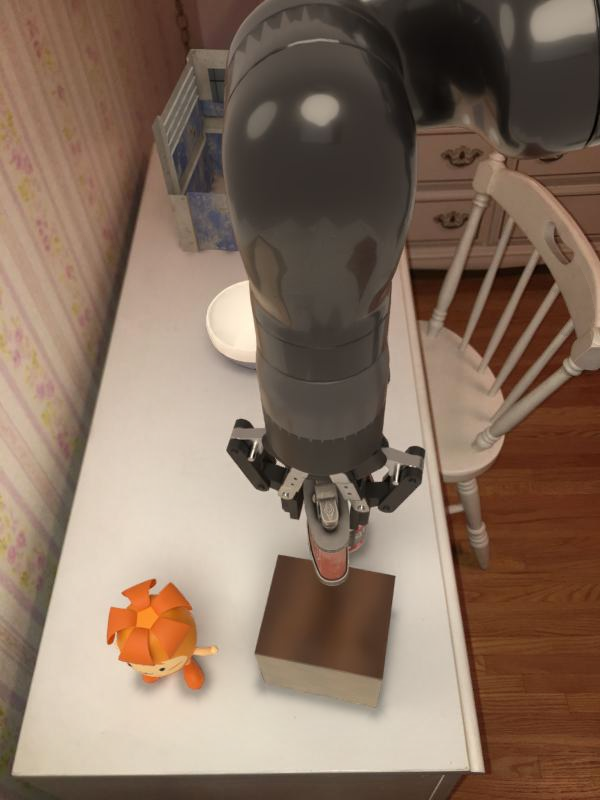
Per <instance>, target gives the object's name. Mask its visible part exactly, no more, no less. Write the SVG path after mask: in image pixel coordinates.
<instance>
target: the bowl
mask: <svg viewBox="0 0 600 800" xmlns="http://www.w3.org/2000/svg"><path fill="white" fill-rule="evenodd" d="M205 325H206V330H207V334H208V337H209V339H210V341H211V343H212V344H213V347H214V348H215V349H216V350H217V351H218V352H219V353H221V354H222V355H223V356H224V357H226V358H227V359H228V360H231V361H232V362H234V363H235V364H237V365H240V366H242V367H245V368H247V369H252V370H256V334H255V327H254V320H253V314H252V307H251V303H250V292H249V279H247V280H243V281H239V282H237V283H234V284H231V285H229V286H228V287H225V289H223V290H222V291H220V292H219V293H218V294H216V296H214V298H213V299H212V300H211V302H210V303H209V306H208V307H207V311H206V315H205Z"/></svg>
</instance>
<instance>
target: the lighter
mask: <svg viewBox="0 0 600 800" xmlns="http://www.w3.org/2000/svg"><path fill="white" fill-rule="evenodd" d="M303 493H304V502H303V507H304V512H305V515H306V516H305V517H306V521H305V522H306V524H305V525H306V535H307V536H306V537H307V545H308V549H309V555H310V558H311V559H310V560H312V562H313V565H314V568H315V571H316V574H317V576H318V578H319V580H320V581H321V582H322V583H323V584H326V585H329V586H336V585H339V584H341V583H342V582H344V581H345V580H346V578H347V576H348V567H349V560H350V559H349V557H350V556H349V554H350V553H349V550H348V543H349V532H350V514H349V506H348V500H344V498H343V496H342V494H341V492H340V490H339V488H338V487H337V485H336V484H332V483H329V482H325V481H316V480H307V479H305V480H304V482H303Z"/></svg>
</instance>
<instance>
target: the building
mask: <svg viewBox="0 0 600 800" xmlns="http://www.w3.org/2000/svg"><path fill="white" fill-rule="evenodd" d="M228 52H229V49H207V48H206V49H205V48H203V49H201V48H199V49H198V48H190V49H189V51H188V53H187V55H186V59H185V60H186V64H185V67H184V68H183V70H182V72H181V75H180V76H179V78H178V80H177V83H176V84H175V86H174V88H173V90H172V93H171V95H170V97H169V98H168V101H167V102H166V105H165V106H164V108H163V110H162V112H161V115H156V116H155V119H154V121H153V123H152V125H151V130H152V134H153V138H154V143H155V146H156V151H157V155H158V159H159V163H160V167H161V170H162V174H163V179H164V182H165V187H166V191H167V196H168V199H169V203H170V207H171V210H172V211H171V212H172V215H173V219H174V223H175V227H176V231H177V235H178V239H179V244H180V248H181V251H182V252H188V253H199V252H200V250H213V251H214V250H215V251H228V252H230V251H231V252H239V250H238V246H237V243H236V240H235V236H234V232H233V228H232V224H231V219H230V214H229V209H228V204H227V198H226V193H215V192H211V190H212V187H213V185H214V181H215V180H214V175H220V176H221V175H223V168H222V128H223V109H224V83H225V69H226V61H227V56H228Z"/></svg>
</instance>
